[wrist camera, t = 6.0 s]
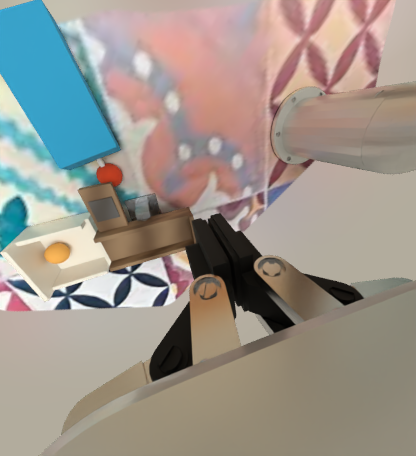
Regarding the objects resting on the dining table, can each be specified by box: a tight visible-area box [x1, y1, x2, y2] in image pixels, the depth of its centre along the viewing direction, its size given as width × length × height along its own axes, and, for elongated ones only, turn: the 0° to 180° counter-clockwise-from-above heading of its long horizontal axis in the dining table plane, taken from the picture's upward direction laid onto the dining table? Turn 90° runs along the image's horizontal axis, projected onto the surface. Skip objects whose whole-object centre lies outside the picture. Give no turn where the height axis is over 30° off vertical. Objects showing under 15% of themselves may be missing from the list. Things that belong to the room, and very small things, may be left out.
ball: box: [44, 243, 70, 264], centre depth 30 cm, size 3×3×3 cm
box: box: [1, 212, 111, 302], centre depth 29 cm, size 9×9×7 cm
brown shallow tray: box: [78, 182, 196, 272], centre depth 28 cm, size 14×12×5 cm
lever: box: [0, 0, 122, 187], centre depth 24 cm, size 7×7×18 cm
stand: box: [125, 193, 161, 221], centre depth 32 cm, size 5×10×6 cm, turn 10°
